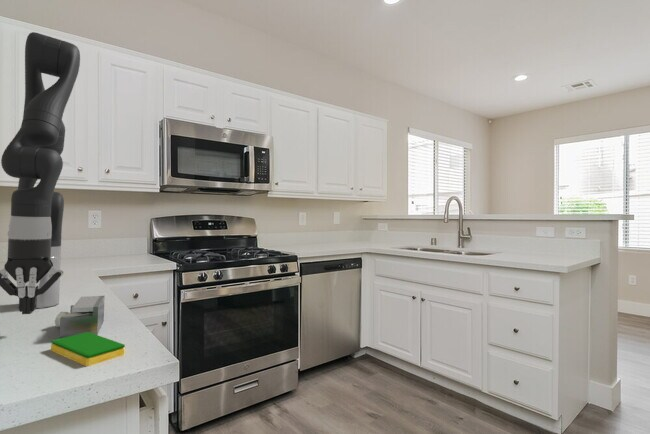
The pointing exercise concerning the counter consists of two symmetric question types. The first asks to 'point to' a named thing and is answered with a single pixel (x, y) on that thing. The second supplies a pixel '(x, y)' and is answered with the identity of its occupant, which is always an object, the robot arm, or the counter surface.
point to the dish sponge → (87, 348)
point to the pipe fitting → (66, 314)
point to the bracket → (84, 317)
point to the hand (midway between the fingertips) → (27, 313)
